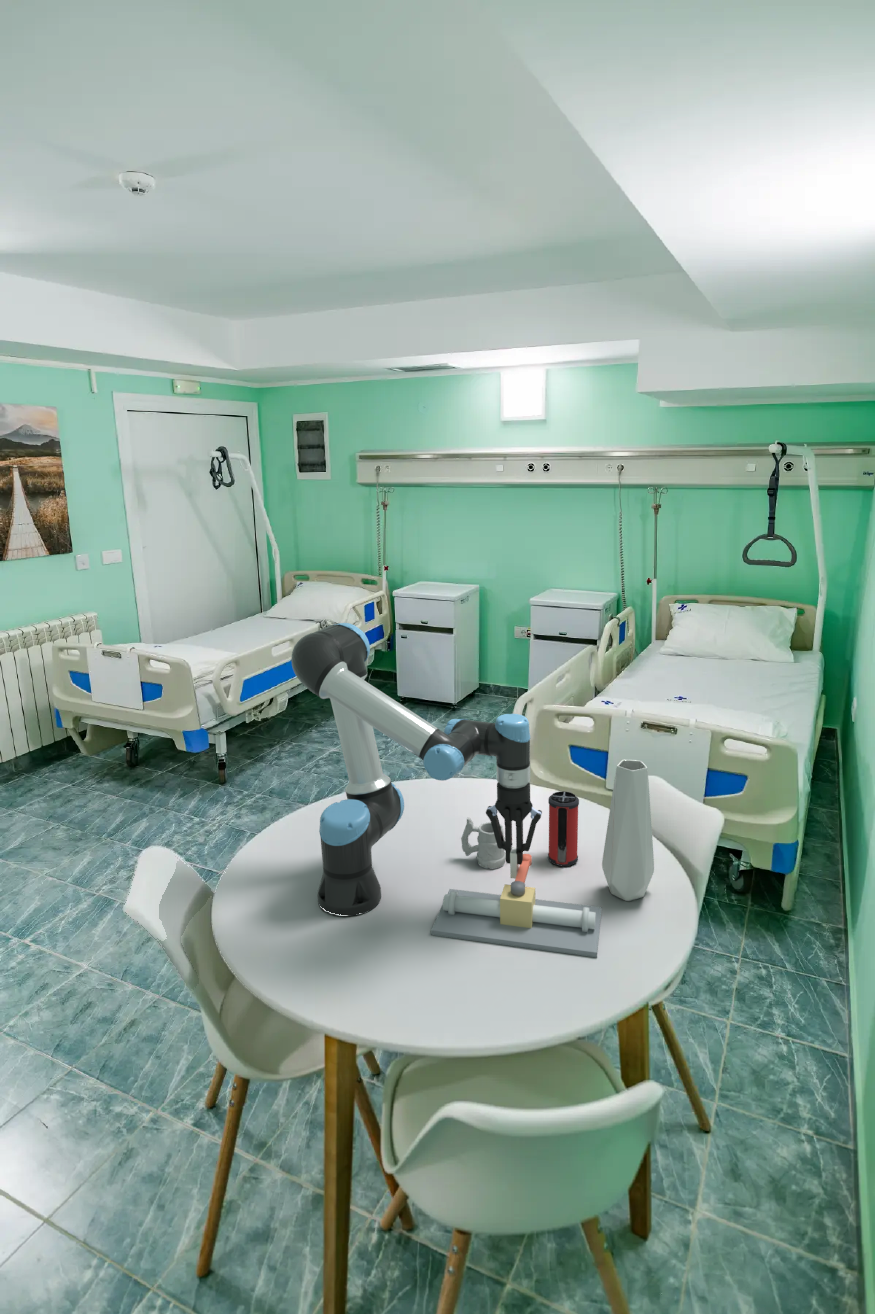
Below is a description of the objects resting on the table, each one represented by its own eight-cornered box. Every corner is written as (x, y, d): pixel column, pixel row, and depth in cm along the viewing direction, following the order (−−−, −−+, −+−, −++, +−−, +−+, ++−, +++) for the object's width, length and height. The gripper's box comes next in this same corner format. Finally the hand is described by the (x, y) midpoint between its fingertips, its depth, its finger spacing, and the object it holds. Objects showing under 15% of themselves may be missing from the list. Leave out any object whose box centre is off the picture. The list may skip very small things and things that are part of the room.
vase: (609, 874, 189) (613, 751, 181) (655, 885, 183) (662, 759, 175) (593, 898, 179) (596, 769, 171) (641, 911, 173) (647, 778, 165)
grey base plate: (431, 934, 167) (430, 904, 165) (449, 893, 183) (449, 865, 181) (596, 957, 158) (597, 925, 156) (601, 911, 174) (602, 882, 172)
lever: (523, 897, 166) (523, 889, 166) (509, 895, 167) (509, 887, 167) (533, 862, 181) (533, 854, 180) (520, 860, 182) (520, 853, 181)
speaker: (546, 865, 194) (547, 801, 189) (549, 851, 201) (549, 788, 197) (576, 868, 192) (578, 804, 187) (578, 853, 199) (579, 791, 195)
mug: (503, 871, 192) (503, 828, 189) (458, 866, 195) (457, 824, 192) (508, 856, 199) (508, 814, 196) (464, 851, 202) (464, 810, 199)
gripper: (481, 786, 169) (484, 880, 175) (540, 791, 165) (540, 887, 171) (488, 773, 176) (490, 864, 182) (544, 777, 172) (544, 870, 178)
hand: (514, 875), depth 176 cm, fingers closed
